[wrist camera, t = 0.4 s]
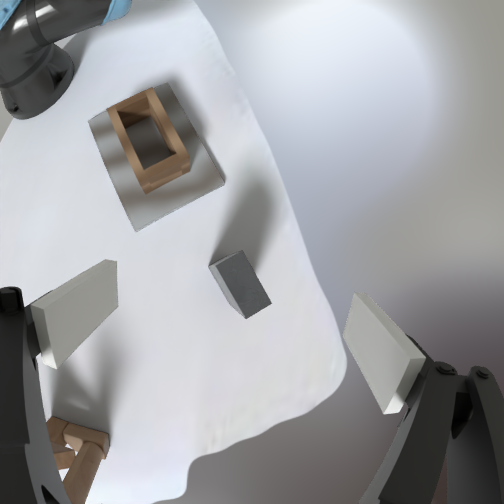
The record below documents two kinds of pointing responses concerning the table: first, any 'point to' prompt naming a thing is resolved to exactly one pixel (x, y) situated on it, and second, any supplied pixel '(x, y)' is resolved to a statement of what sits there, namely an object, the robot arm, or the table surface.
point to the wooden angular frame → (85, 462)
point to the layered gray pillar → (240, 284)
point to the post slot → (153, 155)
